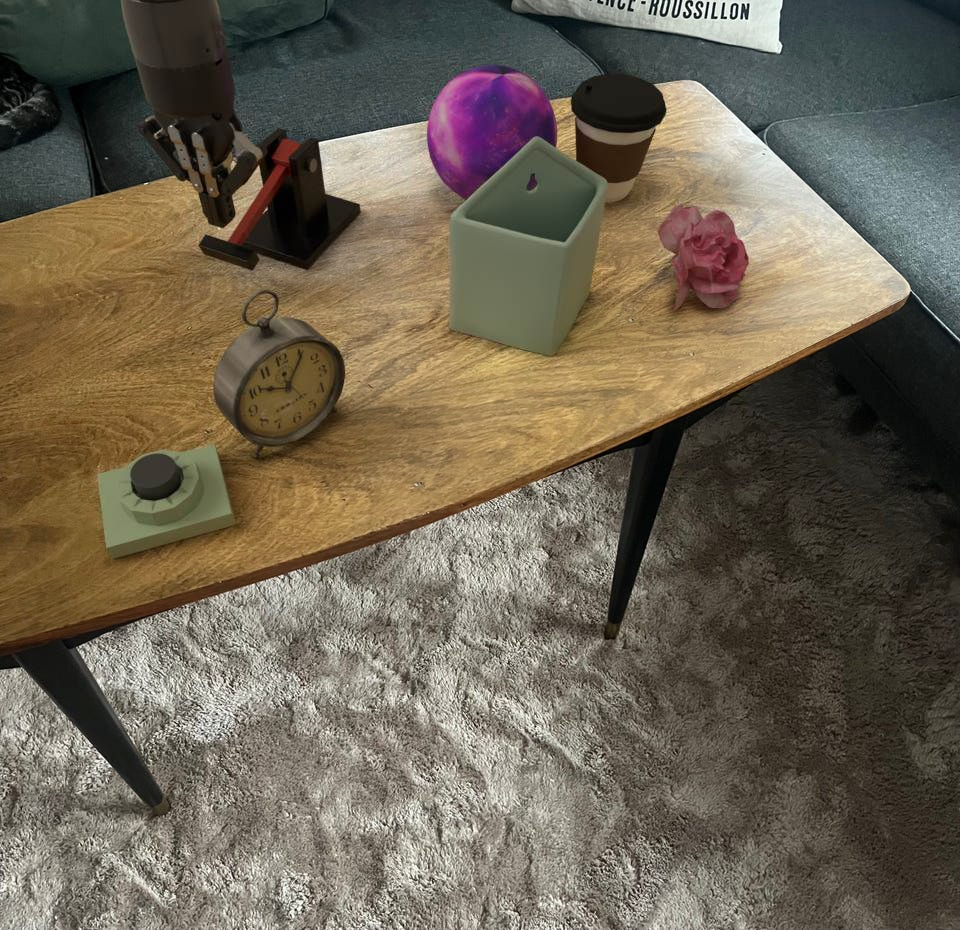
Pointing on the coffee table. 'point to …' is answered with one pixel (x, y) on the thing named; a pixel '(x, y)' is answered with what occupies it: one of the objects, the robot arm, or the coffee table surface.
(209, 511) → the call button base
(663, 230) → the flower
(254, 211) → the red lever
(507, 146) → the decorative orb
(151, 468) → the call button
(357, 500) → the coffee table surface
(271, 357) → the alarm clock
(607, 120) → the coffee cup
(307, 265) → the lever stand
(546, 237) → the planter
